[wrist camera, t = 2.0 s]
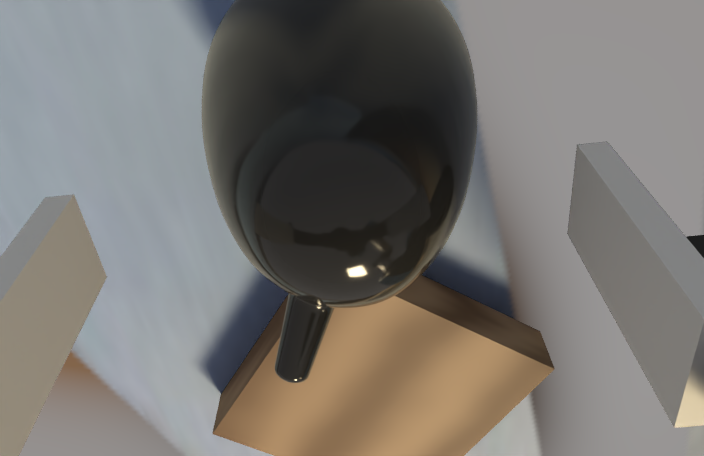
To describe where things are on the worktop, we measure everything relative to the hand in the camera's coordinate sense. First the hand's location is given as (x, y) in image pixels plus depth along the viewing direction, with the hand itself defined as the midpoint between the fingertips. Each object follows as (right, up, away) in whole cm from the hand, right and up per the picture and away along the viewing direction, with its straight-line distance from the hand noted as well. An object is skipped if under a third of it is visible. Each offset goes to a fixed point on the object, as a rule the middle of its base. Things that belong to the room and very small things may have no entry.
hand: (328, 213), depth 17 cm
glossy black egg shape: (0, +7, +11) cm, 13 cm away
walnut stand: (+2, -9, +21) cm, 23 cm away
